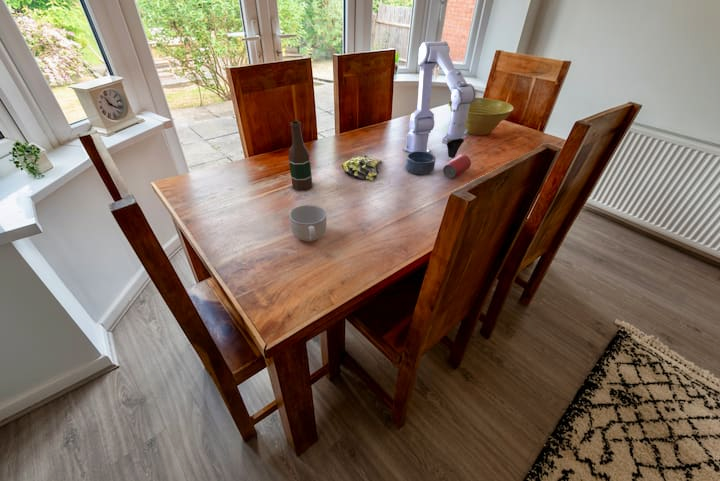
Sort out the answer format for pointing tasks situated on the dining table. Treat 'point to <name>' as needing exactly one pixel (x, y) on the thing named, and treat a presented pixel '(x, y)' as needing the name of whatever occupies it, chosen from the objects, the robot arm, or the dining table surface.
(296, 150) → the beer bottle
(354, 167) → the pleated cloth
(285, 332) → the dining table surface
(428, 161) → the bowl
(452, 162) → the beer can
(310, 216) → the teacup
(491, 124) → the planter bowl
